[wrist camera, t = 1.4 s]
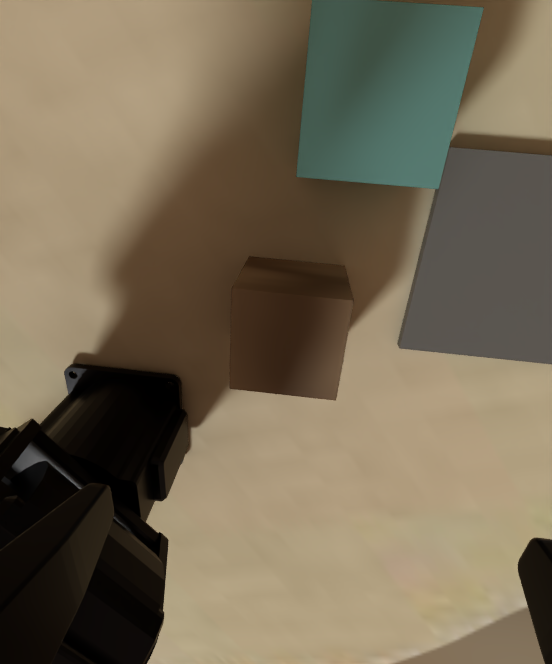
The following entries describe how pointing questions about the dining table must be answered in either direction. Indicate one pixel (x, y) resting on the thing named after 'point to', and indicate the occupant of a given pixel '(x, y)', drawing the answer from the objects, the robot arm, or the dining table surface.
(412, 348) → the slate tile
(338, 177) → the teal cube
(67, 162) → the dining table surface
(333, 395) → the walnut cube
